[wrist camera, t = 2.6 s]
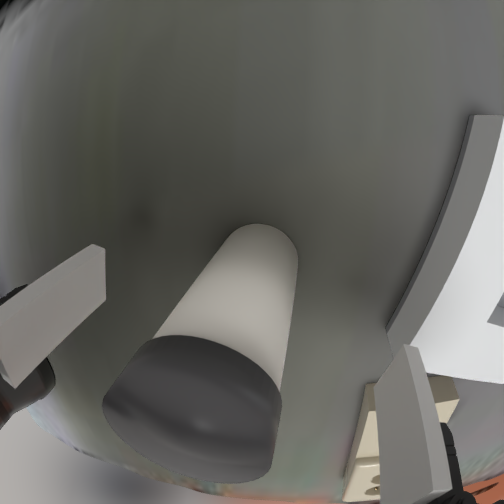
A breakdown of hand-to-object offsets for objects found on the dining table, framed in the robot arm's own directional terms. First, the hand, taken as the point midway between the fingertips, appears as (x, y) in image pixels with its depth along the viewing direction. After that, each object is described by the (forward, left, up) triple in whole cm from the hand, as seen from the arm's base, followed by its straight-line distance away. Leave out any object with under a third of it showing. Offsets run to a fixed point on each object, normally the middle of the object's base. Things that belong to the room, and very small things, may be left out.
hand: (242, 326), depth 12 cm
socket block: (+16, +5, -6) cm, 17 cm away
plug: (0, 0, -6) cm, 6 cm away
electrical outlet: (+16, -15, -7) cm, 23 cm away
